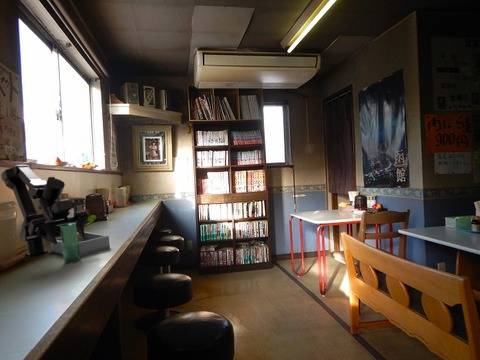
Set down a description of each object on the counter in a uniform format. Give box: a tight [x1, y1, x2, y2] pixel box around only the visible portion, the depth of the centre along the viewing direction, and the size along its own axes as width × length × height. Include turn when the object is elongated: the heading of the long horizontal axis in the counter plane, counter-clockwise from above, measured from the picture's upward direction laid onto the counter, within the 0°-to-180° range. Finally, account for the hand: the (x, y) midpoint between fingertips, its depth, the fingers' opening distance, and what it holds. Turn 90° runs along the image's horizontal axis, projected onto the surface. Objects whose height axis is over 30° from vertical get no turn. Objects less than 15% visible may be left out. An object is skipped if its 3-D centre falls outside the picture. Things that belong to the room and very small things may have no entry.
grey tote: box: [50, 231, 111, 257], centre depth 119 cm, size 22×14×5 cm, turn 50°
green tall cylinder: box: [59, 223, 81, 264], centre depth 102 cm, size 5×5×13 cm
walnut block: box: [77, 232, 83, 243], centre depth 122 cm, size 5×5×5 cm
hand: (70, 239), depth 102 cm, fingers open, 9 cm apart
